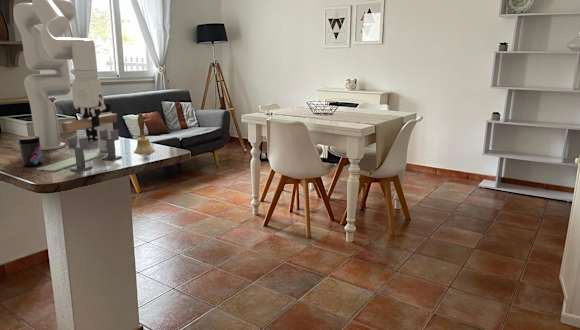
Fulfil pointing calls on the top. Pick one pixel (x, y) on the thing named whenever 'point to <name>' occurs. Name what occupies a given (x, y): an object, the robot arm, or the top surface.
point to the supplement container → (30, 151)
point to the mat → (69, 162)
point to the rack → (84, 145)
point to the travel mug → (106, 126)
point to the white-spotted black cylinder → (91, 131)
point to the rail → (87, 122)
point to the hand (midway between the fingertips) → (91, 125)
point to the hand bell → (143, 139)
